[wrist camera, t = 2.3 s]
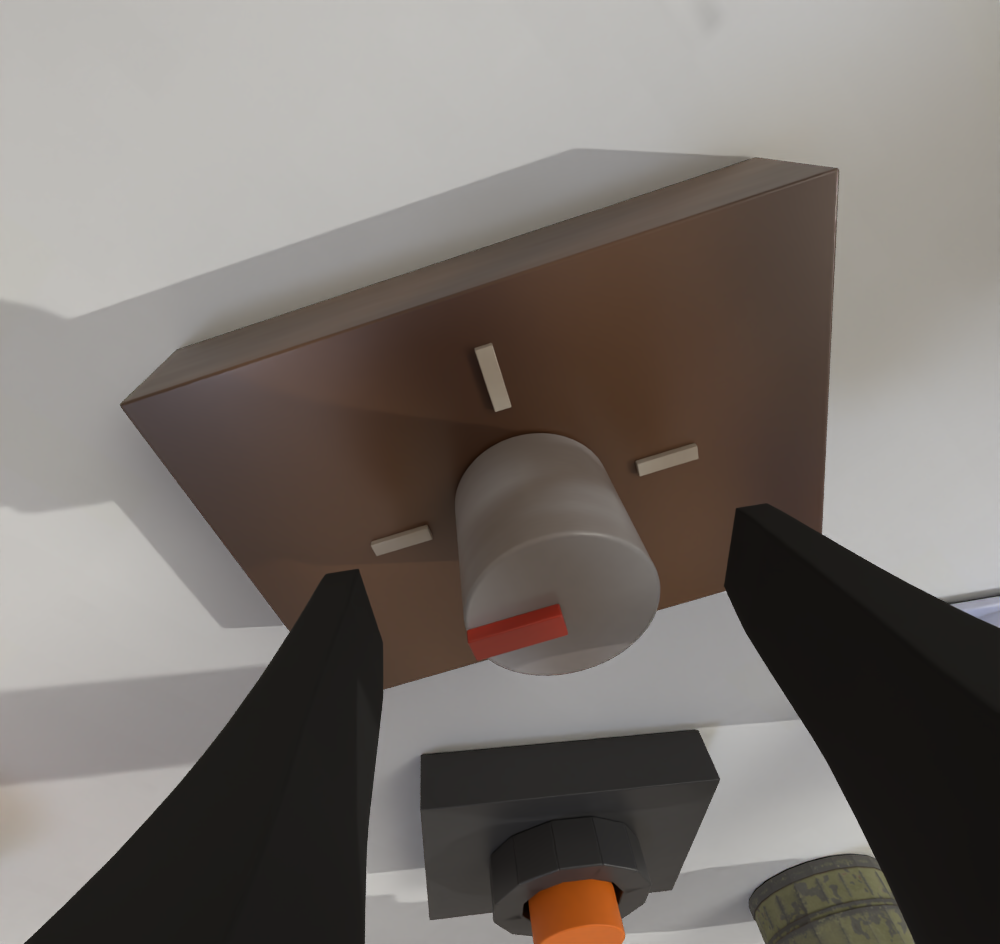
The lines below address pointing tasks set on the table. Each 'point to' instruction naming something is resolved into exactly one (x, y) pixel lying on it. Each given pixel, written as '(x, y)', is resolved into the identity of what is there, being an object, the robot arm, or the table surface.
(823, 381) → the dial panel
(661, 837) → the button base
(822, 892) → the thermos
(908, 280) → the table surface
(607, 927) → the button
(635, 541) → the dial
